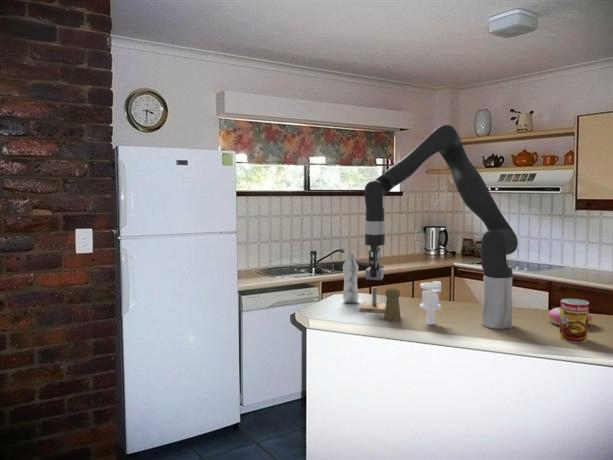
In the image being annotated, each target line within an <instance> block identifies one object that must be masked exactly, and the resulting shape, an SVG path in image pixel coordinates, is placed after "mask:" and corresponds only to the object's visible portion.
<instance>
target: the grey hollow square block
mask: <svg viewBox="0 0 613 460" xmlns="http://www.w3.org/2000/svg"><path fill="white" fill-rule="evenodd" d="M383 278H384V267H381V268H380V267H379V268H376V277H375V278H371V277H370V267H367V268H366V269H365V280H372V281H373V280H374V281H382V280H383Z"/></svg>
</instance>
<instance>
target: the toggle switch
mask: <svg viewBox="0 0 613 460" xmlns="http://www.w3.org/2000/svg"><path fill="white" fill-rule="evenodd" d="M377 290H378V289H377V287H372V292H371V293H372V295H371V296H372V298H371V299H372V302H369V301H368V302H367V301H366V302H365V301H364V302H363V303H362V304H361V305H360V307H359V308H358V309H359V312H370V313H384V314H385V308H386V303H383V302H377V297H378V296H377V293H378V291H377Z"/></svg>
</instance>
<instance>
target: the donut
mask: <svg viewBox="0 0 613 460" xmlns="http://www.w3.org/2000/svg"><path fill="white" fill-rule="evenodd" d="M547 316H548V317H547V318H548V319H549V322H551V323H552V324H553V325H556V326H559V327H560V306H559V307H554V308H552V309H551V310H550V311H549V312H548V315H547ZM592 321H593V316H592V314H591V313H590V312H589V313H588V325H590V324H591V322H592Z"/></svg>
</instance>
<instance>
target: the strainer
mask: <svg viewBox="0 0 613 460" xmlns="http://www.w3.org/2000/svg"><path fill="white" fill-rule="evenodd" d="M419 287H420V288H421V289H423V291H421V292H422V293H421V295H422V296H421V297H422V299H421V303H420V304H419V309H421V310H424V311H425V324H426V325H429V326H432V325H433V326H434V325H435V323H436V321H435V320H436V319H435V318H436V316H435V315H436V312H435V311H439V310H441V309H442V305H441V304H440V303H439V301H440V299H439V298H440V293H441V292H442V281H438V280H437V281H436V280H432V282H431V281H430V282H428V281H427V282H421V283H420V284H419Z"/></svg>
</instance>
